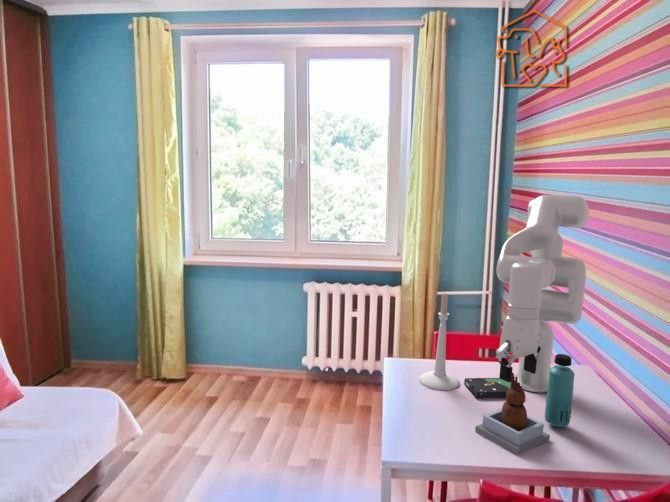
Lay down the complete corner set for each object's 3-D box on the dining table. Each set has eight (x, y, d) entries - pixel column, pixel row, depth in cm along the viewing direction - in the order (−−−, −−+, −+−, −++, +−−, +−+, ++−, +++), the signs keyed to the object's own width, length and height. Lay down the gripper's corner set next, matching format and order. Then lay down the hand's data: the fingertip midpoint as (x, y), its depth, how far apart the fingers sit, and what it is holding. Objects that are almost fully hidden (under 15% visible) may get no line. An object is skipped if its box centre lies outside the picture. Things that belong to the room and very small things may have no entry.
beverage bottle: (558, 434, 132) (566, 362, 129) (537, 422, 138) (544, 353, 135) (575, 429, 135) (583, 358, 132) (554, 418, 141) (561, 349, 138)
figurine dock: (506, 418, 140) (508, 403, 139) (549, 440, 129) (551, 424, 128) (475, 431, 132) (476, 415, 132) (517, 455, 122) (518, 437, 121)
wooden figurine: (497, 423, 134) (502, 369, 132) (519, 423, 134) (524, 370, 132) (505, 436, 127) (510, 380, 125) (528, 437, 127) (533, 381, 125)
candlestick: (457, 375, 168) (463, 288, 163) (461, 392, 156) (468, 298, 151) (418, 372, 170) (423, 286, 165) (419, 388, 158) (425, 295, 153)
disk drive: (475, 401, 152) (522, 399, 153) (476, 392, 151) (523, 390, 153) (463, 386, 162) (507, 384, 163) (463, 378, 161) (508, 376, 163)
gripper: (531, 302, 133) (526, 363, 136) (488, 313, 124) (483, 378, 127) (557, 310, 127) (551, 373, 130) (514, 321, 118) (508, 389, 121)
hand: (517, 375), depth 129 cm, fingers open, 9 cm apart
